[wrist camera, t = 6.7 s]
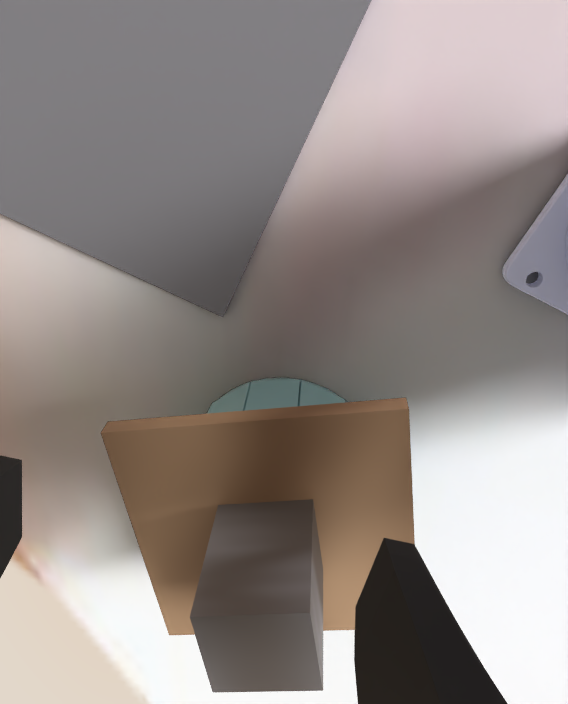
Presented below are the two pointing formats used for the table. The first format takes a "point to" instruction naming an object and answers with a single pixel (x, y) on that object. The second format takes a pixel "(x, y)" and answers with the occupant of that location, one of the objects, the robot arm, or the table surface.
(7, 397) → the table surface
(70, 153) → the mat
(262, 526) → the cover
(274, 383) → the bowl
